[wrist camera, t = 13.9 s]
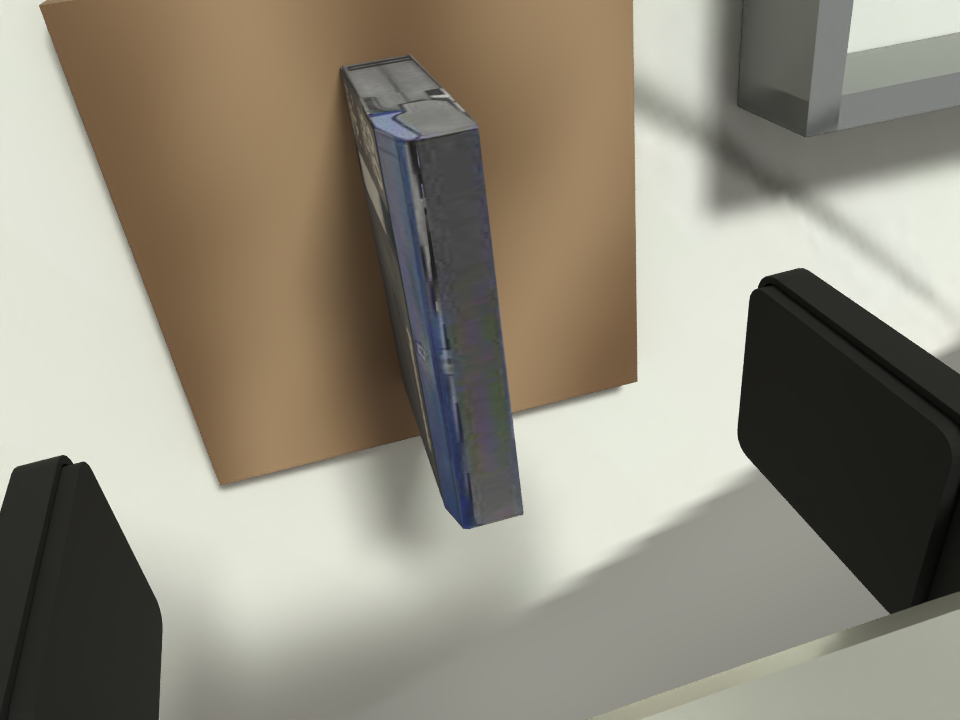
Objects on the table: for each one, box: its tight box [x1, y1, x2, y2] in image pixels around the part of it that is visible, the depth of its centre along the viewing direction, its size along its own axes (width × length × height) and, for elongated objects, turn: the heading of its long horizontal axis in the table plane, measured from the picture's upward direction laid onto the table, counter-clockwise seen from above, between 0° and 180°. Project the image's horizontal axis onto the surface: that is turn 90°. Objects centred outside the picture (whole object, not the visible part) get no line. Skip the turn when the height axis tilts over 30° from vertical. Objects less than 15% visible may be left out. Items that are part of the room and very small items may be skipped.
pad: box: [39, 0, 637, 485], centre depth 20 cm, size 12×12×1 cm
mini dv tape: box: [340, 55, 523, 529], centre depth 17 cm, size 8×2×6 cm, turn 6°
